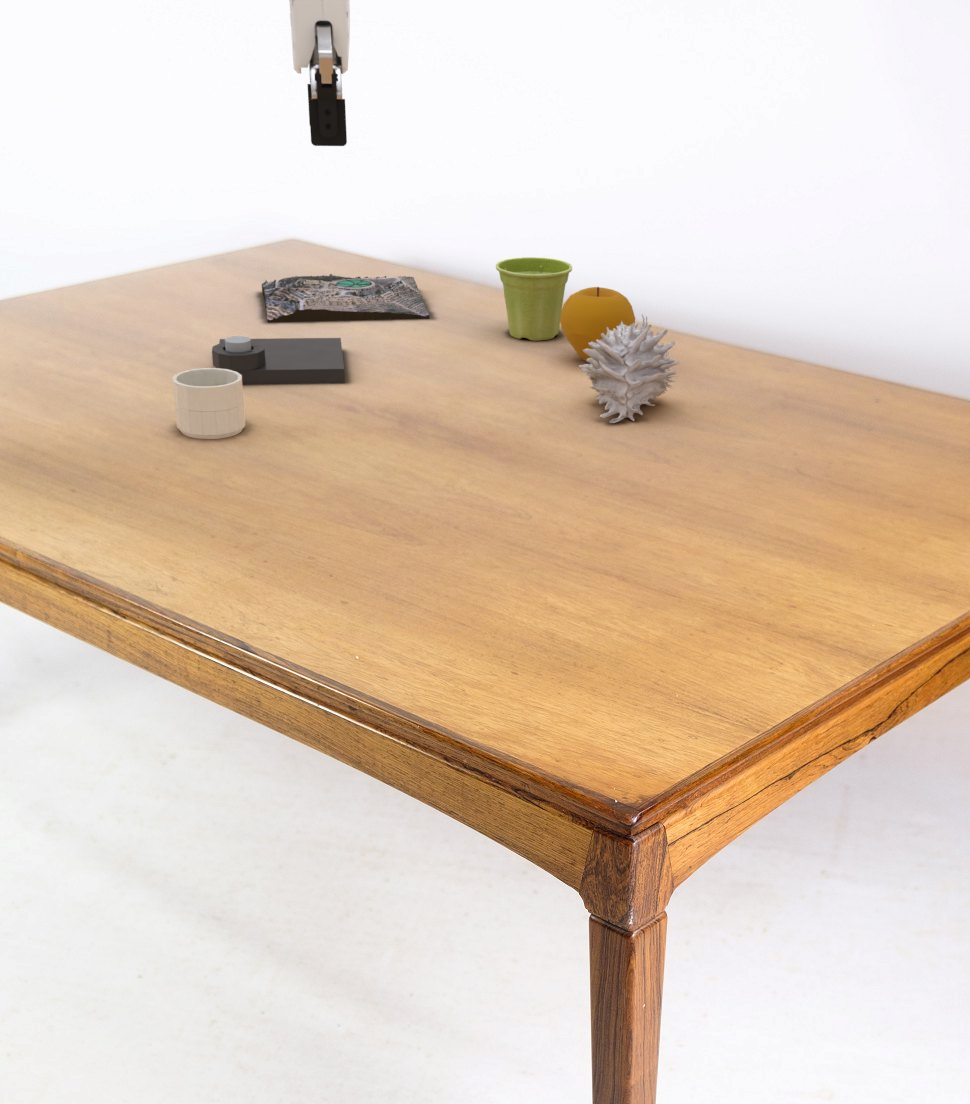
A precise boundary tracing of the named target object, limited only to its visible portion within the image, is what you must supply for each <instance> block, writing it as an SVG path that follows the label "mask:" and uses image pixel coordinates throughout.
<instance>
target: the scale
mask: <svg viewBox="0 0 970 1104" xmlns="http://www.w3.org/2000/svg"><path fill="white" fill-rule="evenodd" d="M225 339H226V338H219V342H218V343H217V344H215V345H213V346H212V348H211V356H212V358H211V359H212V366H213V367H214V368H220V369H229V370H232V371H236V372H238V373H239V374H241V375H242V381H243V386H245V385H247V386H248V385H252V386H253V385H306V384H307V385H308V384H309V385H311V384H312V385H313V384H317V385H318V384H319V385H320V384H345V383H346V378H345V377H346V376H345V364H344V356H343V345H342V338H341V337H291V338H289V337H286V338H285V337H284V338H282V337H281V338H250V339H251V351H246V352H227V351H226V348H225Z"/></svg>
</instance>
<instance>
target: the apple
mask: <svg viewBox="0 0 970 1104" xmlns="http://www.w3.org/2000/svg"><path fill="white" fill-rule="evenodd" d="M621 320H622V322H623V324H624V325H627V326H631V325H632V324H633V323H634V326H635V324H636V316H635V311H634V309H633V306H632V304H631V303H630V301H629V298H627V297H626V296H624V294H622V293H621V292H619V291H617V290H615V289H611V288H607V287H600V286H591V287H587V288H586V287H585V288H583V289H580V290H578V291H576V292H574V293H572V294H570V295H569V297H568V298H567V299H566V300H565V301H564V302H563V305H562V311H561V316H560V328H561V330H562V332H563V334H564V335H565V338H566V339H567V341H568V342H569V344H570V345H571V347H572V348H573V349H574V351H575V353H576V354H577V355H578V356H579V357H580V359H581V360H582V361H584V362H586V364H590V363H589V362H587V361H586V360H587V359H588V358H591V357H590V356H588V355H587V354H586V353H584V352H583V350H584V349H593V348H592V347H591V346H589V344H588V343H591V341H593V342H594V343H597V342H596V340H597V339H598V340H603V338H602V336H601V334H602V333H604V335H606V334H607V327H608V328H609V330H611V331H613V328H615V329H616V330H617V327H616V326H619V325H620V324H621Z"/></svg>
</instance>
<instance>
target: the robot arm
mask: <svg viewBox="0 0 970 1104" xmlns="http://www.w3.org/2000/svg"><path fill="white" fill-rule="evenodd" d="M350 1H351V0H289V19H290V28H291V29H290V31H291V50H292V63H293V64H292V65H293V70H294V71H295V72H296V73H297V74H302V68H304V69H307V68H308V71H309V72H308V73H309V83H307V100H308V101H307V104H308V118H309V119H308V120H309V127H310V128H309V130H310V143H311V145H313V146H314V147H345V146H346V145H347V143H348V141H347V137H348V135H347V117H346V116H347V114H346V111H347V110H346V99H345V98H343V83H342V81H343V80H342V75H344V74H345V73H346V72H347V71H348V70H349V58H350V57H349V56H350V40H351V39H350V38H351V36H350V35H351V32H350V31H351V24H350V23H351V5H350V4H351V3H350Z"/></svg>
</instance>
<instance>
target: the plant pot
mask: <svg viewBox="0 0 970 1104" xmlns="http://www.w3.org/2000/svg"><path fill="white" fill-rule="evenodd" d="M495 269H496V271H498V273H499V279H500V281H501V283H502V287H503V295H504V301H505V309H506V316H507V324H508V330H509V335H510V336H511V337H512V338H515V339H517V340H521V339H523V338H525V339H527V340H528V341H534V342H536V341H537V342H538V341H549V340H552V339H554V338H555V336H558V335H559V332H560V327H561V323H560V316H561V311H562V308H563V305H564V297H565V290H566V285H567V283H568V280H569V277H570V276H569V275H570V273H571V272H573V271H572V270H573V265H572V264H571V263H569V262H567V261H565V260H561V259H556V258H550V257H536V256H535V257H534V256H533V257H532V256H531V257H529V256H525V257H513V258H508V259H503V260H500V261H498V262H497V263H496V264H495Z"/></svg>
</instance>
